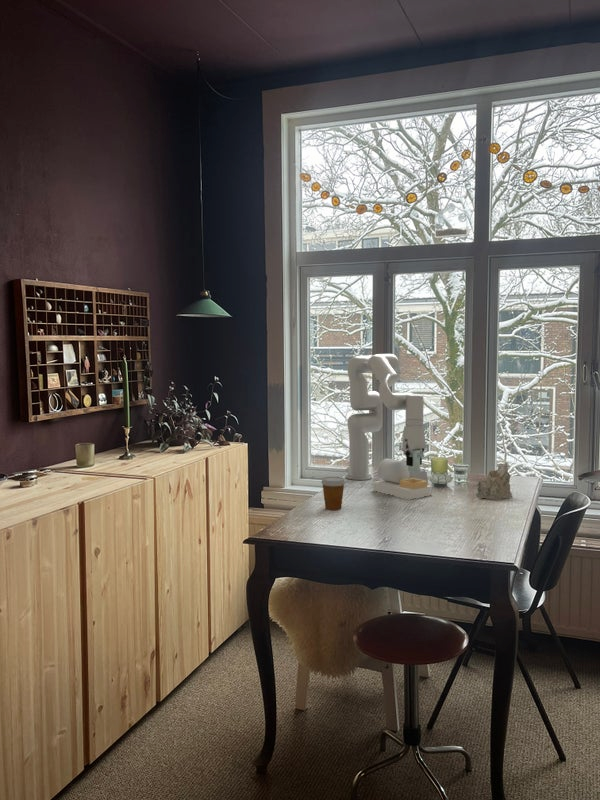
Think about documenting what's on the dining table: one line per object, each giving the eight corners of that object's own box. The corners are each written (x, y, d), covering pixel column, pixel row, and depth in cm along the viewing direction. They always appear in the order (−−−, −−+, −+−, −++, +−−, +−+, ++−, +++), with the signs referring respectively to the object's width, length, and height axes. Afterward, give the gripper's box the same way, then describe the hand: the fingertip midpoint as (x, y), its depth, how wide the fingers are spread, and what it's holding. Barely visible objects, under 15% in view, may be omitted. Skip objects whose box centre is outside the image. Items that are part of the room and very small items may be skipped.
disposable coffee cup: (340, 512, 259) (340, 482, 258) (317, 509, 263) (317, 479, 262) (348, 507, 267) (348, 477, 266) (326, 504, 271) (326, 475, 270)
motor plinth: (373, 490, 297) (373, 459, 296) (394, 486, 306) (395, 456, 304) (410, 499, 280) (410, 466, 279) (432, 495, 288) (432, 463, 287)
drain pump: (405, 470, 287) (405, 449, 286) (413, 469, 290) (413, 448, 289) (419, 472, 281) (419, 451, 280) (426, 471, 284) (427, 450, 283)
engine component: (426, 481, 317) (405, 481, 318) (426, 439, 316) (405, 438, 316) (429, 486, 306) (407, 486, 307) (430, 442, 305) (408, 442, 305)
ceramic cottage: (504, 490, 298) (503, 457, 296) (517, 500, 281) (516, 465, 279) (469, 492, 297) (468, 459, 295) (480, 502, 281) (479, 468, 279)
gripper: (421, 420, 293) (420, 461, 294) (394, 423, 283) (393, 466, 284) (434, 422, 287) (433, 463, 289) (407, 425, 277) (406, 468, 278)
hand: (414, 464), depth 286 cm, fingers closed on drain pump, 5 cm apart
